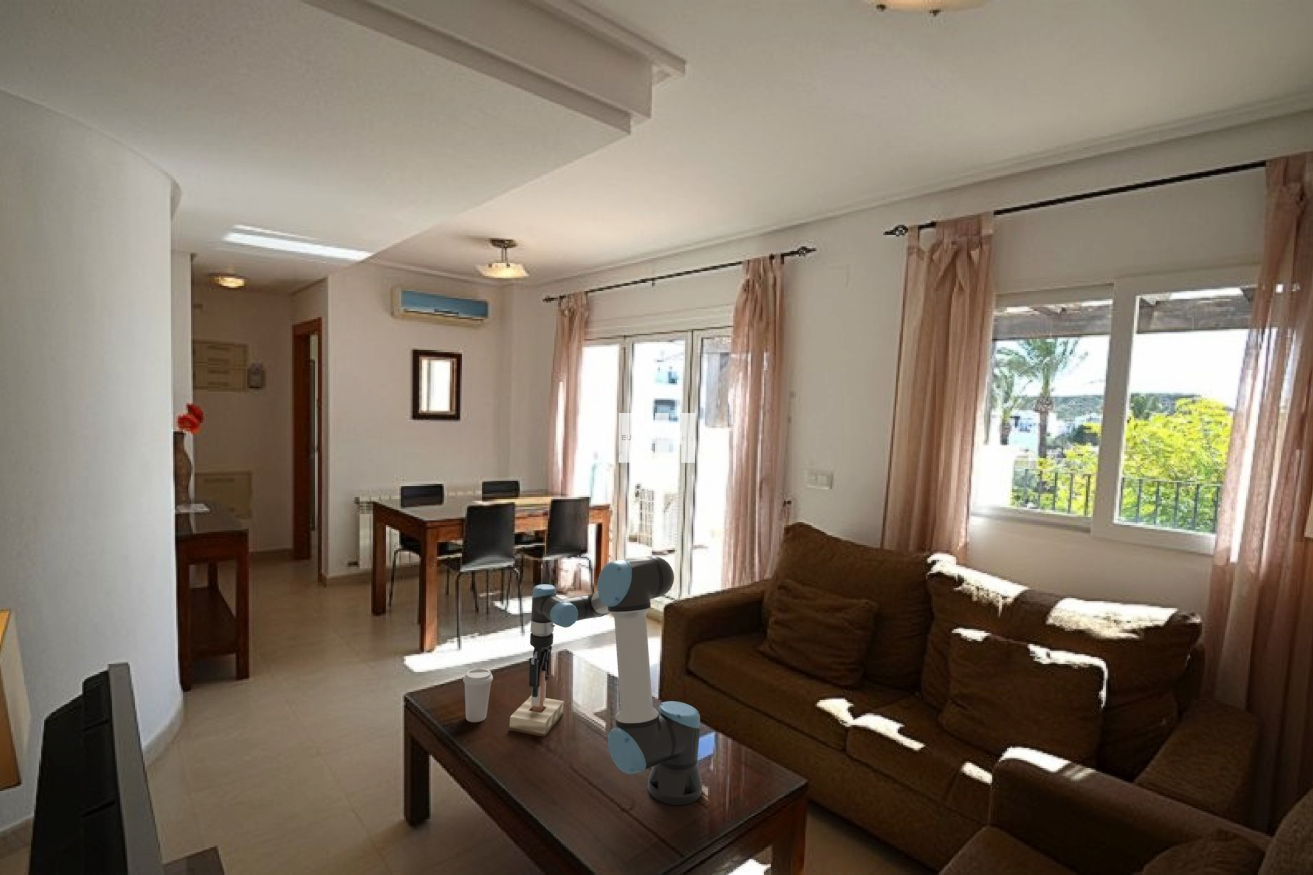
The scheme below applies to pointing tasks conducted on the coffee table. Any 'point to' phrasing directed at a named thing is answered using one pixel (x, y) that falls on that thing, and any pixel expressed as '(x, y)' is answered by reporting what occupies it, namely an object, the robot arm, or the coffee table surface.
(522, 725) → the bore block
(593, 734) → the coffee table surface
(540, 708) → the pin
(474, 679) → the coffee cup
